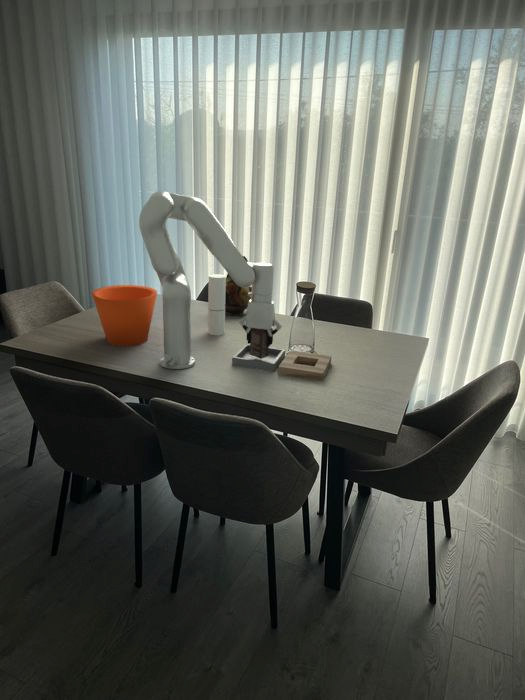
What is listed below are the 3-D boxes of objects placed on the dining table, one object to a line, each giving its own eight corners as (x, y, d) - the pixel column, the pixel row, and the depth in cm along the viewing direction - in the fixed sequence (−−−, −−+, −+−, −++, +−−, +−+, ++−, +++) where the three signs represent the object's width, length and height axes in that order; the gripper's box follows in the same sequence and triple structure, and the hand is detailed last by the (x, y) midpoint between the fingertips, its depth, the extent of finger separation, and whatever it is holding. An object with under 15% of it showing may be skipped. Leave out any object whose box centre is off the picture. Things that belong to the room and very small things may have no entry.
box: (268, 356, 192) (270, 325, 188) (260, 359, 189) (262, 328, 185) (257, 352, 196) (258, 321, 192) (248, 354, 193) (250, 324, 189)
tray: (274, 371, 184) (274, 363, 183) (232, 365, 188) (232, 357, 187) (284, 356, 199) (285, 349, 198) (245, 351, 203) (245, 344, 202)
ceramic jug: (255, 312, 256) (258, 252, 245) (238, 319, 243) (240, 256, 233) (228, 306, 264) (229, 247, 254) (209, 312, 252) (210, 251, 241)
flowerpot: (111, 354, 193) (108, 303, 186) (85, 336, 211) (81, 289, 204) (169, 342, 208) (168, 295, 201) (141, 326, 226) (139, 282, 219)
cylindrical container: (225, 330, 226) (227, 274, 217) (223, 335, 219) (224, 278, 211) (209, 329, 226) (210, 273, 218) (206, 334, 220) (207, 277, 211)
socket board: (322, 381, 178) (323, 373, 177) (277, 374, 182) (278, 366, 181) (330, 363, 194) (331, 356, 193) (289, 357, 198) (290, 350, 197)
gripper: (235, 297, 184) (234, 343, 190) (282, 302, 179) (279, 350, 185) (242, 292, 190) (240, 337, 197) (287, 298, 186) (284, 344, 192)
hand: (259, 343), depth 191 cm, fingers closed on box, 7 cm apart
